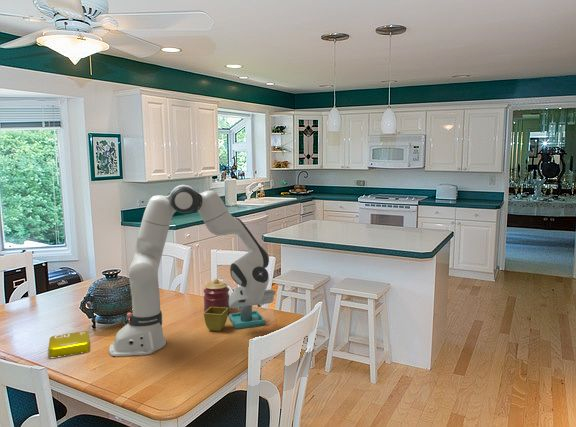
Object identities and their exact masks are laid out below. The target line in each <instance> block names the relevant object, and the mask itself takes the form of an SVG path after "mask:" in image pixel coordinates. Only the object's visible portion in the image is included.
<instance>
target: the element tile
mask: <svg viewBox="0 0 576 427" xmlns="http://www.w3.org/2000/svg"><path fill="white" fill-rule="evenodd" d="M48 341H49V342H48V358H49V357H58V356H64V355H70V354H76V353H81V352H86V353H88V352H87V351H89V350H90V351H91V343H90V342H91V341H90V332H89V331H88V330H82V331H75V332H70V333H65V334H57V335H56V334H55V335H52V336H50V337H49V340H48ZM90 351H89V352H90ZM81 354H82V353H81ZM76 355H77V354H76ZM70 356H71V355H70ZM64 357H65V356H64Z"/></svg>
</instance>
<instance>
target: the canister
mask: <svg viewBox="0 0 576 427" xmlns="http://www.w3.org/2000/svg"><path fill="white" fill-rule="evenodd" d="M228 285H229V284H227V282H225V281H222V280H219V278H214V279H213V280H212V281H209V282H207V283H206V284H205V285H204V289H203V294H204V296H203V306H204V308H203V313H204V312H206V311H207V310H208V309H209V308H210V307H223V308H228V314H230V310H231V307H230V306H229V298H230V295H231V294H229V291H230V288H229V287H228Z"/></svg>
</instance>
